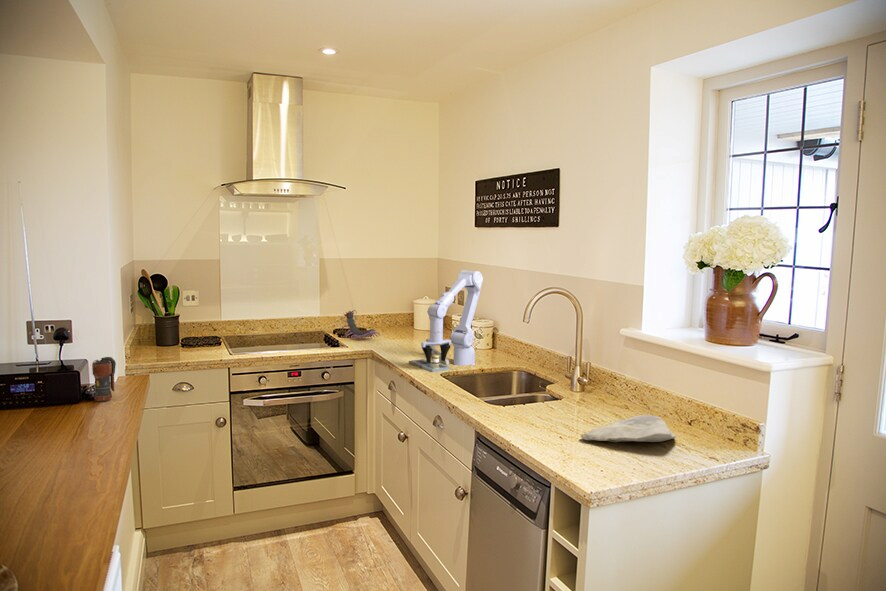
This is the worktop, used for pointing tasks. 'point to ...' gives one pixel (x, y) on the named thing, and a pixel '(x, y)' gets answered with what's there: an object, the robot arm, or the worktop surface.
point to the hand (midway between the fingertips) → (435, 361)
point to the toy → (354, 328)
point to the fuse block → (419, 363)
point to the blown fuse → (435, 361)
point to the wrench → (436, 352)
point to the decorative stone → (633, 430)
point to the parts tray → (443, 368)
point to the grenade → (103, 378)
